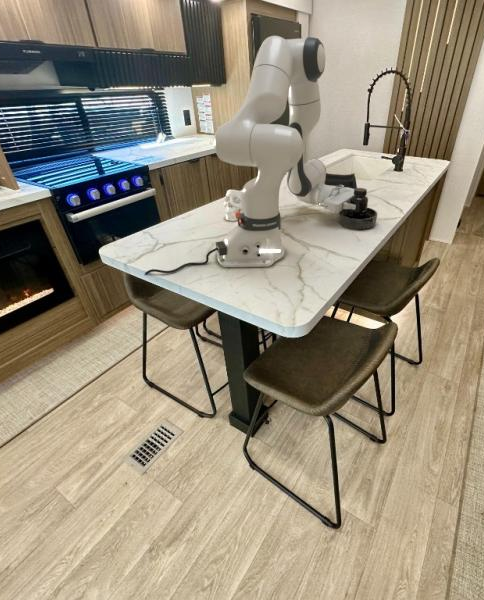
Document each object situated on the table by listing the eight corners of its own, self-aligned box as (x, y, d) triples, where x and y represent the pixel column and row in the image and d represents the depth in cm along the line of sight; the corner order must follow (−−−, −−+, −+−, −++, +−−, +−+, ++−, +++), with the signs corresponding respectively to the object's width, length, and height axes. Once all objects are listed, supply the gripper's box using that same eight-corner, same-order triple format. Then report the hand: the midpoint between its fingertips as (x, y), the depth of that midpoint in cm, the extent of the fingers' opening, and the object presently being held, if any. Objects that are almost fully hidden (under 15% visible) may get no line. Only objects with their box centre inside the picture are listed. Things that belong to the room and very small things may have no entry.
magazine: (364, 177, 154) (309, 152, 159) (363, 178, 151) (307, 153, 156) (351, 209, 165) (299, 185, 170) (349, 211, 162) (297, 186, 167)
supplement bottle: (365, 223, 127) (369, 192, 120) (347, 222, 128) (351, 191, 121) (365, 217, 132) (369, 187, 125) (348, 215, 134) (351, 186, 127)
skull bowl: (214, 217, 133) (220, 187, 132) (232, 224, 146) (237, 197, 145) (236, 220, 129) (242, 190, 128) (252, 227, 142) (258, 200, 141)
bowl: (345, 232, 124) (346, 221, 121) (332, 217, 136) (333, 207, 133) (382, 228, 126) (384, 217, 124) (366, 214, 138) (367, 204, 136)
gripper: (317, 196, 124) (349, 203, 118) (342, 183, 138) (372, 189, 131) (316, 212, 128) (347, 220, 121) (341, 198, 141) (370, 204, 135)
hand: (360, 204), depth 126 cm, fingers closed on supplement bottle, 7 cm apart
